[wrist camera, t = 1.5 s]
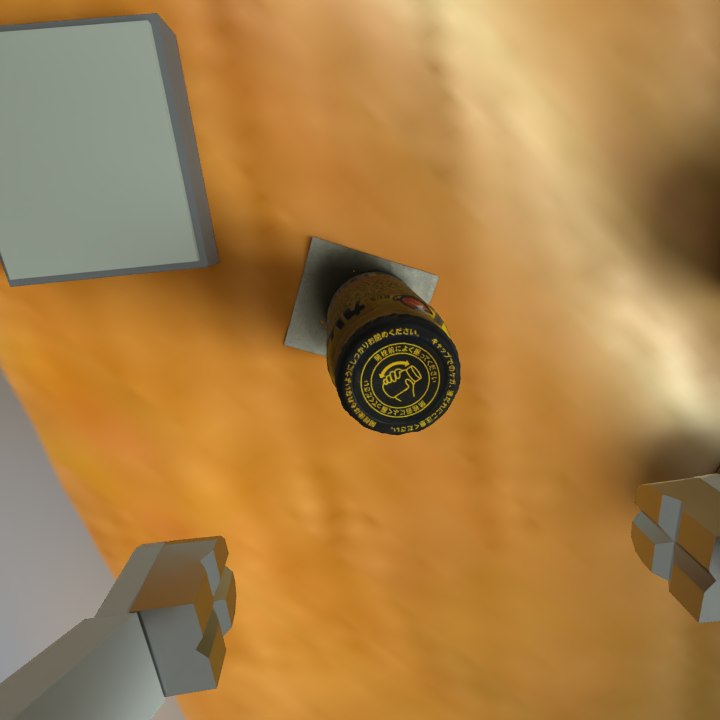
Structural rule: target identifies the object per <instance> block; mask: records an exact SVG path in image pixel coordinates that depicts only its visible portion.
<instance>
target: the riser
mask: <svg viewBox="0 0 720 720" xmlns="http://www.w3.org/2000/svg"><path fill="white" fill-rule="evenodd" d="M0 259H1V262H2V265H3V268H4V270H5V273H6V276H7V279H8V282H9V285H10V287H14V286H24V285H33V284H43V283H53V282H63V281H73V280H83V279H93V278H103V277H112V276H122V275H132V274H142V273H152V272H162V271H172V270H182V269H192V268H201V267H209V266H212V265H214V264H217V263H219V258H218V252H217V247H216V242H215V237H214V232H213V226H212V221H211V216H210V211H209V206H208V201H207V195H206V190H205V185H204V180H203V175H202V170H201V164H200V159H199V154H198V149H197V144H196V139H195V133H194V128H193V123H192V118H191V113H190V107H189V102H188V97H187V92H186V87H185V82H184V76H183V71H182V66H181V61H180V56H179V51H178V45H177V40H176V35H175V34H174V33H173V32H172V30H171V29H170V28H169V27H168V26H167V24H166V23H165V22H164V21H163V20H162V18H161V17H160V16H159V15H158V14H157V13H154V14H141V15H129V16H116V17H103V18H91V19H78V20H66V21H53V22H41V23H28V24H16V25H3V26H0Z"/></svg>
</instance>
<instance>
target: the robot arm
mask: <svg viewBox="0 0 720 720" xmlns="http://www.w3.org/2000/svg"><path fill="white" fill-rule="evenodd" d="M634 503H635V504H636V505H637V507H638V508H639V509H640V513H639V514H638V515H637V516H636V517H635V519H634V520H633V521H632V529H631V538H632V541H633V545H634V548H635V551H636V553H637V554H638V556H639V558H640V559H641V561H642V562H643V563H644V565H645V566H646V567H647V568H648V569H649V570H650V571H651V572H652V573H654V574H656V575H658V576H660V577H662V578H664V579H666V580H668V584H669V592H670V593H671V594H672V595H673V596H674V597H675V598H676V599H677V600H678V601H679V602H680V604H681V605H682V606H683V607H684V608H685V609H686V610H687V611H688V612H689V613H690V614H691V615H692V616H693V617H694V618H695V620H696V621H697V622H698V623H703V622H712V621H720V474H709V475H703V476H696V477H691V478H688V479H680V480H672V481H664V482H656V483H649V484H641V485H640V486H639V488H638V489H637V491H636V495H635V502H634ZM227 557H228V549H227V545H226V541H225V539H224V538H223V537H222V536H213V537H203V538H193V539H183V540H173V541H169V542H156V543H148V544H142V545H140V546H139V547H137V548H136V549H135V550H134V552H133V554H132V555H131V557H130V559H129V560H128V562H127V564H126V565H125V567H124V569H123V570H122V572H121V574H120V575H119V577H118V579H117V580H116V582H115V584H114V585H113V587H112V589H111V590H110V592H109V594H108V595H107V597H106V599H105V600H104V602H103V604H102V605H101V607H100V608H99V610H98V612H97V613H96V615H95V617H94V618H89V619H84V620H83V621H82V622H80V623H79V624H78V625H76V626H75V627H74V628H72V629H71V630H70V631H68V632H67V633H66V634H65V635H63V636H62V637H61V638H59V639H58V640H57V641H55V642H54V643H53V644H51V645H50V646H49V647H48V648H46V649H45V650H44V651H42V652H41V653H40V654H38V655H37V656H36V657H35V658H33V659H32V660H31V661H29V662H28V663H27V664H25V665H24V666H23V667H21V668H20V669H19V670H17V671H16V672H15V673H14V674H12V675H11V676H10V677H8V678H7V679H6V680H4V681H3V682H2V683H0V720H150V719H151V718H152V717H153V715H154V714H155V713H156V711H157V710H158V709H159V708H160V706H161V705H162V704H163V702H164V701H165V698H164V697H168V696H174V695H180V694H186V693H192V692H198V691H204V690H210V689H216V688H217V686H218V681H219V677H220V673H221V669H222V665H223V661H224V657H225V653H226V647H225V643H224V639H223V636H224V635H225V634H226V633H227V632H228V631H229V630H230V628H231V627H232V624H233V620H234V615H235V607H236V586H235V579H234V574H233V572H232V571H231V570H230V569H229V568H228V567H226V566H225V564H226V560H227Z"/></svg>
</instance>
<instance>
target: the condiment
mask: <svg viewBox="0 0 720 720" xmlns="http://www.w3.org/2000/svg"><path fill="white" fill-rule="evenodd" d="M353 270H355V272H353ZM438 278H439V276H436V275H433V274H430V273H427V272H423V271H420V270H417V269H414V268H411V267H407V266H404V265H401V264H398V263H395V262H392V261H388V260H385V259H382V258H379V257H376V256H373V255H369V254H366V253H362V252H360V251H357V250H354V249H350V248H347V247H344V246H341V245H338V244H334V243H331V242H328V241H325V240H322V239H318V238H315V237H313V238H312V242H311V245H310V250H309V253H308V257H307V261H306V264H305V268H304V272H303V276H302V280H301V284H300V287H299V291H298V295H297V298H296V302H295V306H294V309H293V314H292V317H291V321H290V325H289V329H288V332H287V336H286V339H285V343H284V345H286V346H290V347H293V348H296V349H300V350H305V351H308V352H311V353H315V354H319V355H323V356H326V357H327V366H328V371H329V374H330V377H331V379H332V382H333V384H334V386H335V387H336V388H337V392H338V395H339V398H340V400H341V404H342V406H343V408H344V409H345V411H347V412H348V413H349V414H350V416H352V417H353V418H354V419H355V420H357V421H358V422H359V423H360V424H361V425H362V426H364V427H366V428H368V429H371V430H374V431H377V432H380V433H387V434H391V435H401V434H404V433H409V432H418V431H421V430H423V429H425V428H427V427H428V426H430V425H431V424H433V423H434V422H435V421H436V420H437V419H439V418H440V417H441V416H442V415H443V414H444V413H445V412H446V411H447V410H448V408H449V406H450V405H451V403H452V401H453V399H454V397H455V395H456V393H457V391H458V389H459V385H460V379H461V378H460V362H459V358H458V352H457V350H456V347H455V345H454V343H453V342H452V340H451V339H450V334H449V332H448V329H447V327H446V325H445V323H444V322H443V320H442V319H441V317H440V316H439V315H438V314H437V313H436V312H435V311H434V309H433V308H432V307H431V306H429V303H430V300H431V298H432V295H433V292H434V289H435V287H436V284H437V281H438ZM320 320H322V321H323V323H324V324H321V323H320ZM325 325H326V326H327V329H325V327H324V326H325Z"/></svg>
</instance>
